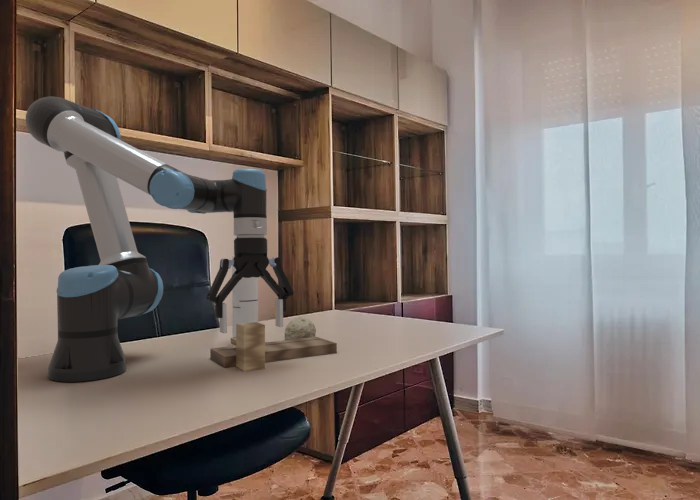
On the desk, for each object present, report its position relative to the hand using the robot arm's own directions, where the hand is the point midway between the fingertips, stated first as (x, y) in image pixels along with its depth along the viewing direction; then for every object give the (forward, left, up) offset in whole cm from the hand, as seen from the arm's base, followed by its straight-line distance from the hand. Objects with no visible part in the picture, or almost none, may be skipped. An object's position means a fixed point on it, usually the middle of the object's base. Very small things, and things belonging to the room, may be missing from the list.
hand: (252, 329), depth 116 cm
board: (+10, +9, -9) cm, 16 cm away
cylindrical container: (+9, +27, -9) cm, 30 cm away
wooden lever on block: (0, +5, -9) cm, 10 cm away
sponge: (+23, +20, -9) cm, 32 cm away
